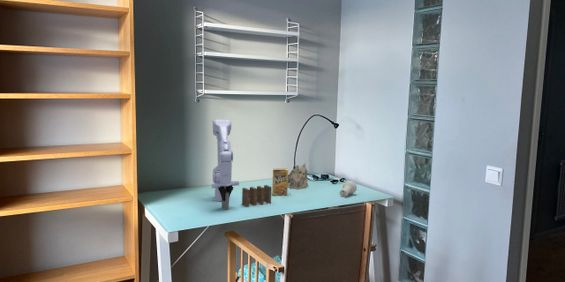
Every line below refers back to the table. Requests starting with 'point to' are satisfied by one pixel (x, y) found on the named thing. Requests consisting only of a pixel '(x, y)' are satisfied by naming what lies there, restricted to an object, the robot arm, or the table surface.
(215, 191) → the robot arm
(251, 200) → the domino
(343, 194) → the pale grey rounded lump
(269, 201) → the domino
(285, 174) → the candy box
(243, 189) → the domino
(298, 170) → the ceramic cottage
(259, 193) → the domino
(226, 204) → the domino
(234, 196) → the table surface
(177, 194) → the table surface
